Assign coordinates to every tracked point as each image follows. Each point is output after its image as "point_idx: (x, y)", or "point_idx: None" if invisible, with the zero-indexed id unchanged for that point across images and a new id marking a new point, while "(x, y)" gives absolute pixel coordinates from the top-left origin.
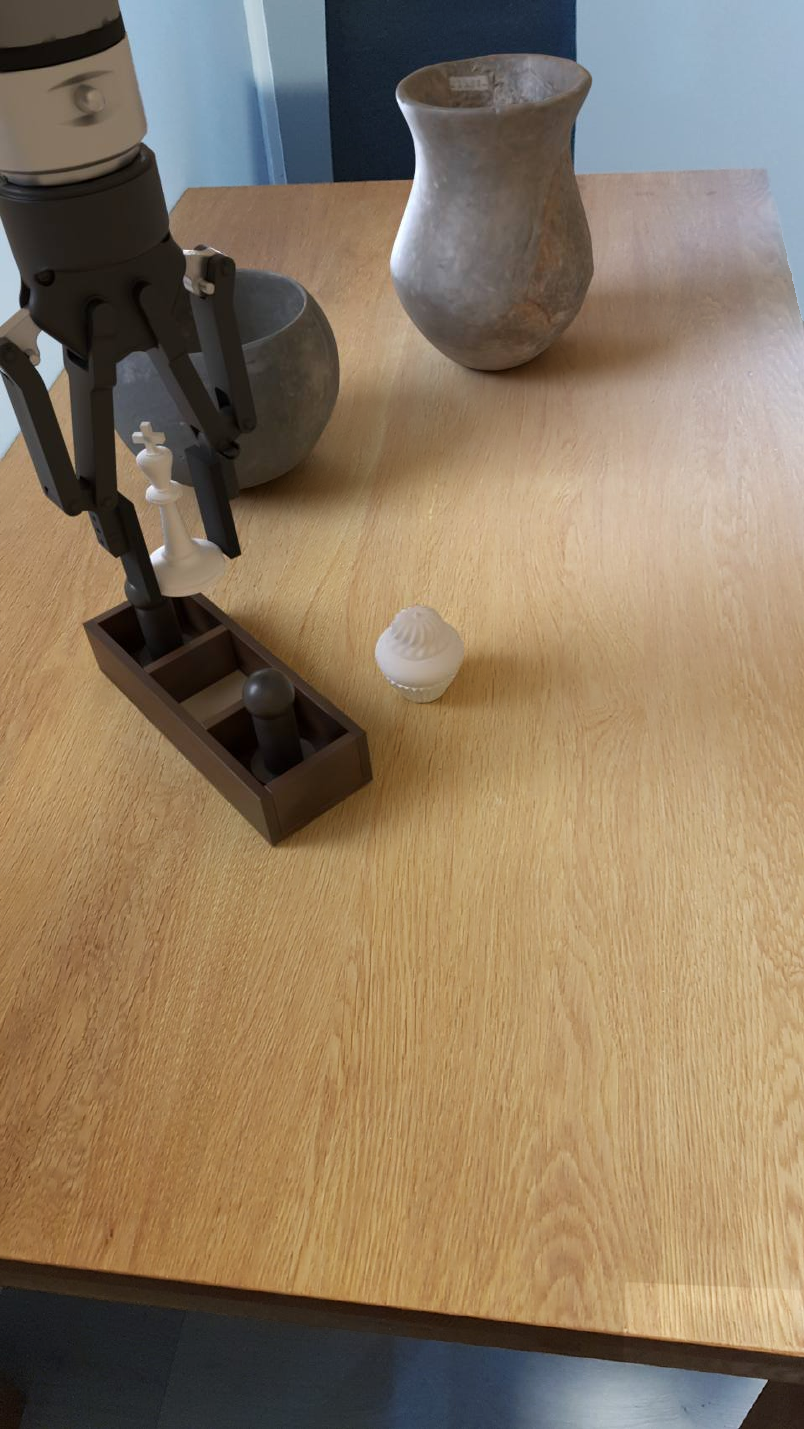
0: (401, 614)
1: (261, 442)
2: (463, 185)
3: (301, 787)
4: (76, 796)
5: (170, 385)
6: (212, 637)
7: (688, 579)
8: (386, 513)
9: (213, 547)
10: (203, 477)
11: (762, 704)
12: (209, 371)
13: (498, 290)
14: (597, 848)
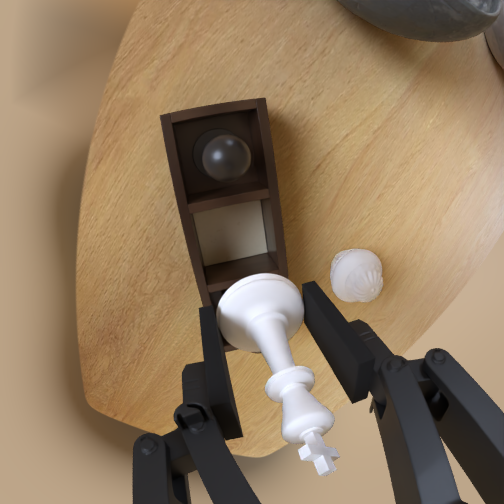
0: (368, 284)
1: (402, 31)
2: None
3: None
4: (116, 239)
5: (402, 473)
6: (253, 200)
7: (457, 259)
8: (414, 100)
9: (299, 318)
10: (343, 371)
11: (417, 332)
12: (463, 414)
13: None
14: (329, 371)
